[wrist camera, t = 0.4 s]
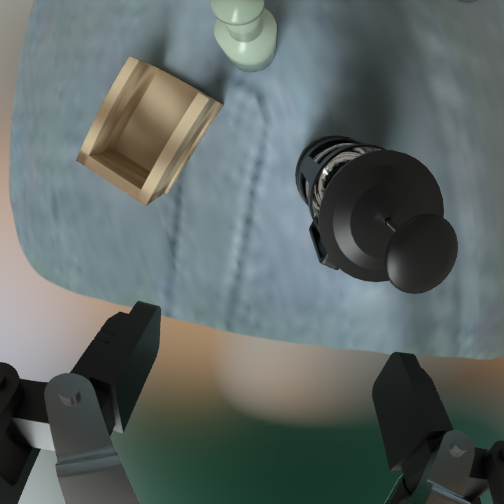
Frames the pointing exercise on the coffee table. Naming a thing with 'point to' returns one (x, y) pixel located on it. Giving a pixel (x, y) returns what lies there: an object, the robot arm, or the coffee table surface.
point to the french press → (376, 214)
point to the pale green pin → (245, 33)
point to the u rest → (146, 130)
